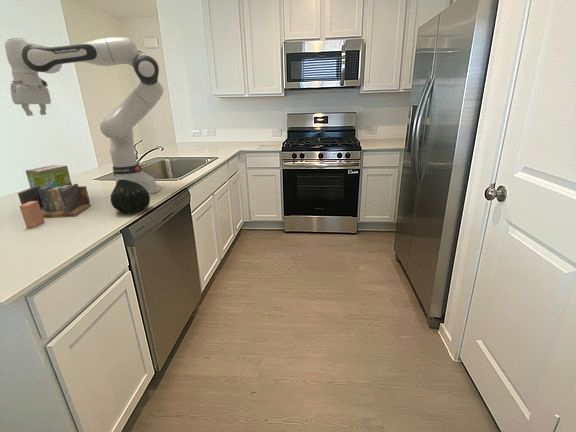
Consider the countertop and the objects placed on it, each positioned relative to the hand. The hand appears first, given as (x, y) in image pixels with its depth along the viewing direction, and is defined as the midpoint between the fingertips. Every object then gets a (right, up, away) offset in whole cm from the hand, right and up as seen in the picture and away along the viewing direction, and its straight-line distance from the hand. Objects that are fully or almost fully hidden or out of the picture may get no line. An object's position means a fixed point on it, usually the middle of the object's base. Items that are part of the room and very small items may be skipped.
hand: (37, 115), depth 139 cm
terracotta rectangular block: (+12, -48, -15) cm, 52 cm away
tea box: (-11, -34, +25) cm, 44 cm away
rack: (+11, -43, -1) cm, 45 cm away
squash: (+43, -43, -1) cm, 61 cm away
